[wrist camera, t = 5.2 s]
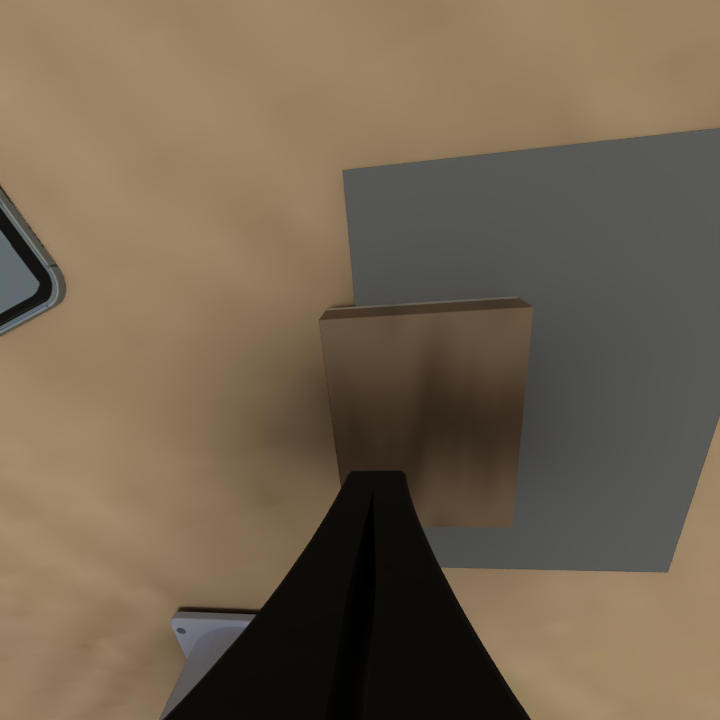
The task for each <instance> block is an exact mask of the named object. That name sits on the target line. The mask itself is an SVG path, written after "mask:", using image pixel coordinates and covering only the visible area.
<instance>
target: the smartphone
mask: <svg viewBox="0 0 720 720" xmlns="http://www.w3.org/2000/svg"><path fill="white" fill-rule="evenodd" d="M37 239H38V238H37V236H35V235H33V231H32V230H31V229H29V225H28V224H27V222H26V221H25V220H24V218H23V217H22V215H21V214H20V213H19V212H18V210H17V208H16V207H15V205H14V204H12V203H11V202H10V201H9V200H8V198H7V197H6V196H5V194H4V193H3V191H2V190H1V189H0V336H1V335H3V334H5V333H7V332H9V331H11V330H12V329H14V328H16V327H18V326H20V325H22V324H24V323H25V322H27V321H29V320H31V319H33V318H35V317H36V316H38V315H40V314H42V313H44V312H46V311H47V310H49V309H51V308H53V307H55V306H57V305H58V304H59V303H60V302H61V301H62V300H63V298H64V296H65V292H66V286H65V281H64V277H63V275H62V273H61V271H60V269H59V268H58V266H57V265H56V263H55V262H54V260H53V259H52V258H51V256H50V255H49V253H48V252H47V251H46V249H45V248H43V247H42V244H41V242H39V241H38V240H37Z"/></svg>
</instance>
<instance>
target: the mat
mask: <svg viewBox="0 0 720 720" xmlns="http://www.w3.org/2000/svg"><path fill="white" fill-rule="evenodd" d="M343 179H344V190H345V200H346V211H347V222H348V233H349V244H350V255H351V265H352V276H353V287H354V298H355V307H357V306H372V305H388V304H403V303H418V302H434V301H449V300H465V299H480V298H496V297H511V296H516V297H518V298H519V299H521V300H523V301H524V302H526V303H528V304H529V305H531V306H533V317H532V327H531V338H530V348H529V358H528V369H527V379H526V389H525V400H524V410H523V421H522V431H521V441H520V452H519V462H518V472H517V483H516V493H515V503H514V514H513V524H512V528H495V527H422V528H423V531H424V533H425V535H426V538H427V540H428V542H429V544H430V547H431V549H432V551H433V553H434V555H435V557H436V560H437V562H438V564H439V566H440V567H448V568H492V569H536V570H580V571H623V572H667V573H668V570H669V567H670V564H671V561H672V558H673V555H674V552H675V549H676V546H677V543H678V540H679V537H680V534H681V531H682V528H683V525H684V522H685V519H686V516H687V513H688V510H689V507H690V504H691V501H692V498H693V495H694V492H695V489H696V486H697V483H698V480H699V477H700V474H701V471H702V468H703V465H704V462H705V459H706V456H707V453H708V450H709V447H710V444H711V441H712V438H713V435H714V432H715V429H716V426H717V423H718V420H719V417H720V128H717V129H708V130H699V131H690V132H681V133H672V134H663V135H654V136H645V137H636V138H627V139H619V140H610V141H601V142H592V143H583V144H574V145H565V146H556V147H547V148H538V149H529V150H520V151H511V152H502V153H493V154H484V155H475V156H466V157H458V158H449V159H440V160H431V161H422V162H413V163H404V164H395V165H386V166H377V167H368V168H359V169H350V170H343Z"/></svg>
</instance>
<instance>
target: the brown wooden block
mask: <svg viewBox="0 0 720 720" xmlns="http://www.w3.org/2000/svg"><path fill="white" fill-rule="evenodd" d="M532 317H533V306H531V305H529V304H528V303H526V302H524V301H523V300H521V299H519V298H518V297H516V296H511V297H496V298H480V299H465V300H449V301H434V302H418V303H403V304H388V305H372V306H357V307H341V308H328V309H327V310H326V311H325V313H324V314H323V315H322V317H321V318H320V319H319V325H320V333H321V340H322V348H323V355H324V363H325V371H326V378H327V386H328V393H329V401H330V408H331V416H332V423H333V431H334V439H335V446H336V454H337V461H338V469H339V476H340V484H341V488H342V486H343V484H344V482H345V480H346V477H347V475H348V474H349V473H350V472H351V471H402V472H404V473H405V474H406V479H407V484H408V489H409V492H410V496H411V499H412V502H413V505H414V508H415V511H416V513H417V516H418V519H419V521H420V524H421V526H422V527H495V528H512V524H513V514H514V503H515V493H516V483H517V472H518V462H519V452H520V441H521V431H522V421H523V410H524V400H525V389H526V379H527V369H528V358H529V348H530V338H531V327H532Z"/></svg>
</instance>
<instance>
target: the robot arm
mask: <svg viewBox="0 0 720 720" xmlns="http://www.w3.org/2000/svg"><path fill="white" fill-rule="evenodd" d="M170 622H171V626H172V628H173V630H174V632H175V635H176V637H177V639H178V642H179V644H180V646H181V649H182V651H183V653H184V656H185V658H186V660H187V661H186V663H185V666H184V668H183V670H182V672H181V674H180V676H179V678H178V680H177V682H176V685H175V687H174V689H173V691H172V693H171V695H170V697H169V699H168V701H167V704H166V706H165V708H164V710H163V712H162V714H161V716H160V718H159V720H531V719H530V717H529V716H528V714H527V713H526V711H525V710H524V708H523V707H522V705H521V704H520V703H519V701H518V700H517V698H516V697H515V695H514V694H513V692H512V691H511V689H510V687H509V686H508V684H507V683H506V681H505V680H504V678H503V676H502V675H501V673H500V672H499V670H498V668H497V667H496V665H495V663H494V662H493V660H492V659H491V657H490V655H489V654H488V652H487V651H486V649H485V647H484V646H483V644H482V642H481V641H480V639H479V637H478V635H477V634H476V632H475V630H474V629H473V627H472V625H471V624H470V622H469V620H468V618H467V617H466V615H465V613H464V611H463V609H462V608H461V606H460V604H459V602H458V600H457V599H456V597H455V595H454V593H453V591H452V589H451V587H450V585H449V583H448V581H447V579H446V578H445V576H444V574H443V572H442V570H441V568H440V566H439V564H438V562H437V560H436V557H435V555H434V553H433V551H432V549H431V547H430V544H429V542H428V540H427V538H426V535H425V533H424V531H423V528H422V526H421V524H420V521H419V519H418V516H417V513H416V511H415V508H414V505H413V502H412V499H411V496H410V492H409V489H408V484H407V479H406V474H405V473H404V472H402V471H351V472H350V473H349V474H348V475H347V477H346V480H345V482H344V484H343V486H342V488H341V490H340V491H339V493H338V495H337V497H336V499H335V501H334V502H333V504H332V506H331V508H330V509H329V511H328V513H327V515H326V516H325V518H324V520H323V521H322V523H321V524H320V526H319V528H318V529H317V531H316V532H315V534H314V536H313V537H312V539H311V540H310V542H309V543H308V545H307V547H306V548H305V549H304V551H303V552H302V554H301V555H300V557H299V558H298V559H297V561H296V562H295V564H294V565H293V567H292V568H291V569H290V571H289V572H288V574H287V575H286V577H285V578H284V579H283V581H282V582H281V584H280V585H279V586H278V588H277V589H276V590H275V592H274V593H273V594H272V596H271V597H270V598H269V599H268V601H267V602H266V603H265V605H264V606H263V607H262V608H261V610H260V611H259V612H258V613H257V615H255V614H230V613H206V612H176V613H175V614H174V616H173V617H172V619H171V621H170Z"/></svg>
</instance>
